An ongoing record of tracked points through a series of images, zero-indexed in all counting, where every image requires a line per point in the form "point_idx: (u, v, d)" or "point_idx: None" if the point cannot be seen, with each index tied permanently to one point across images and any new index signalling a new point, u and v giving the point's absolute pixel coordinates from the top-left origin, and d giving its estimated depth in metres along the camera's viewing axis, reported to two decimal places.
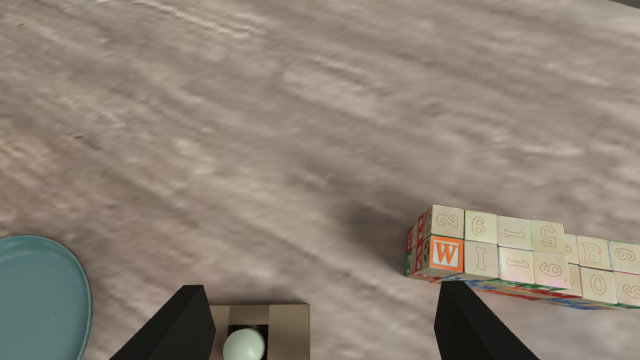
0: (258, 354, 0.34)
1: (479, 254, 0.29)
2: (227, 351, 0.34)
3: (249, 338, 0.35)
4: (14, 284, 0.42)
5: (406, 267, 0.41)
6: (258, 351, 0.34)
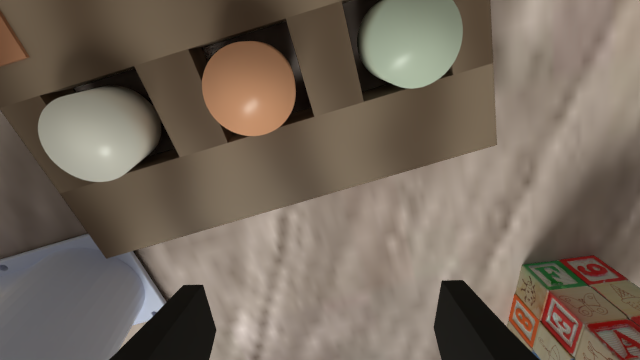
0: (413, 86, 0.14)
1: None
2: (408, 2, 0.13)
3: (444, 51, 0.14)
4: None
5: (537, 264, 0.25)
6: (419, 84, 0.14)
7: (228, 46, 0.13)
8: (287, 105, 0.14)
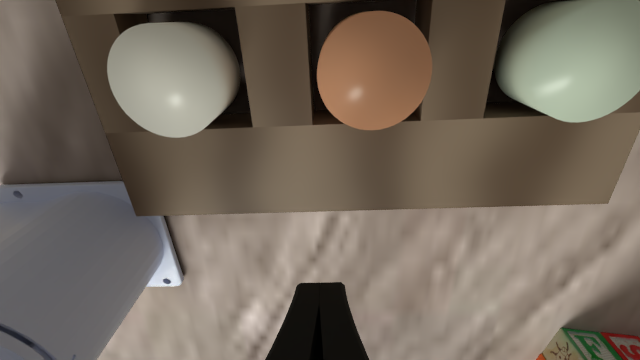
0: (564, 118, 0.12)
1: None
2: (608, 15, 0.10)
3: (621, 87, 0.11)
4: None
5: (577, 332, 0.24)
6: (574, 119, 0.12)
7: (370, 13, 0.10)
8: (410, 103, 0.12)
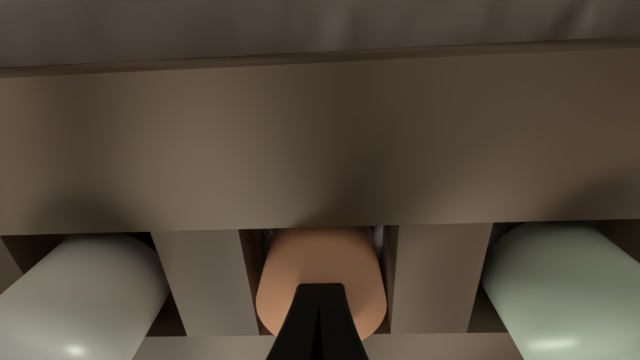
0: None
1: None
2: (625, 304, 0.08)
3: None
4: None
5: None
6: None
7: (311, 258, 0.09)
8: (364, 330, 0.10)
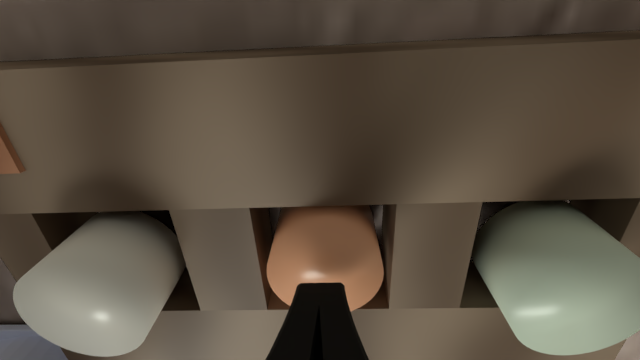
0: (549, 350, 0.10)
1: None
2: (599, 272, 0.08)
3: (614, 329, 0.09)
4: None
5: None
6: (560, 352, 0.10)
7: (316, 228, 0.10)
8: (364, 296, 0.11)
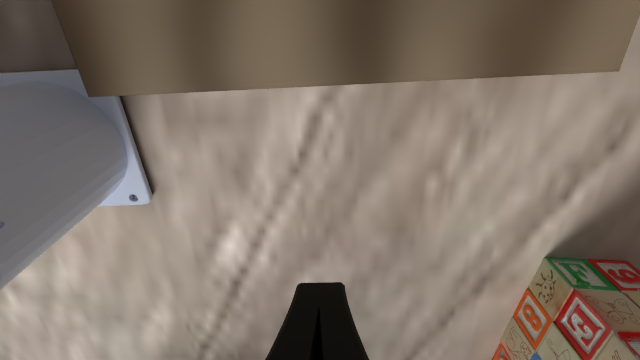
0: None
1: None
2: None
3: None
4: None
5: (562, 260, 0.22)
6: None
7: None
8: None
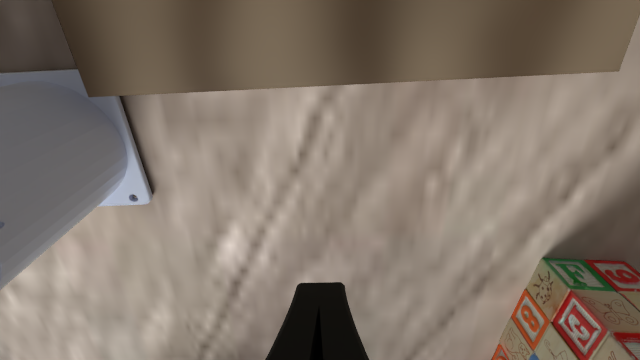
0: None
1: None
2: None
3: None
4: None
5: (559, 261, 0.22)
6: None
7: None
8: None
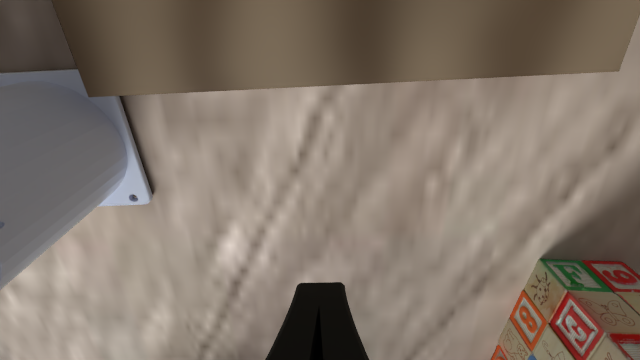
0: None
1: None
2: None
3: None
4: None
5: (556, 261, 0.22)
6: None
7: None
8: None
